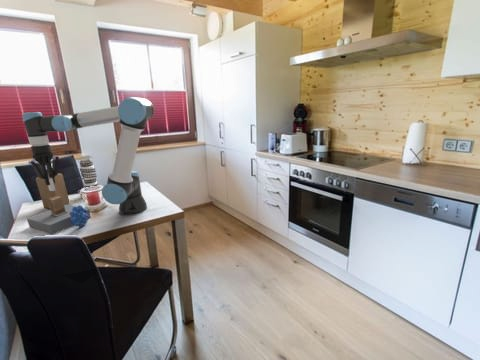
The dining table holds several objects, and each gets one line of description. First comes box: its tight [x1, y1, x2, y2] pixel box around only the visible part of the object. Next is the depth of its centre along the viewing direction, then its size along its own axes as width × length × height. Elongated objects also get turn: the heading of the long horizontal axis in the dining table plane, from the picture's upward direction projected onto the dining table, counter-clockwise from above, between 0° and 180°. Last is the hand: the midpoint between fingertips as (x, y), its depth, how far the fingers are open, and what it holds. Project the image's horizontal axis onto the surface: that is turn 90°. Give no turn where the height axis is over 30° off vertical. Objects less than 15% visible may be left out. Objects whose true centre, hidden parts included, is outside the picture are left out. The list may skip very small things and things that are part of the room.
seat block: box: [26, 204, 92, 235], centre depth 135 cm, size 20×20×5 cm
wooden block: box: [35, 172, 70, 209], centre depth 157 cm, size 10×10×20 cm
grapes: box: [70, 204, 88, 228], centre depth 128 cm, size 12×7×12 cm, turn 178°
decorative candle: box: [78, 158, 99, 189], centre depth 175 cm, size 9×9×25 cm
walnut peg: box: [48, 196, 66, 217], centre depth 134 cm, size 5×5×14 cm
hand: (52, 190), depth 130 cm, fingers closed
